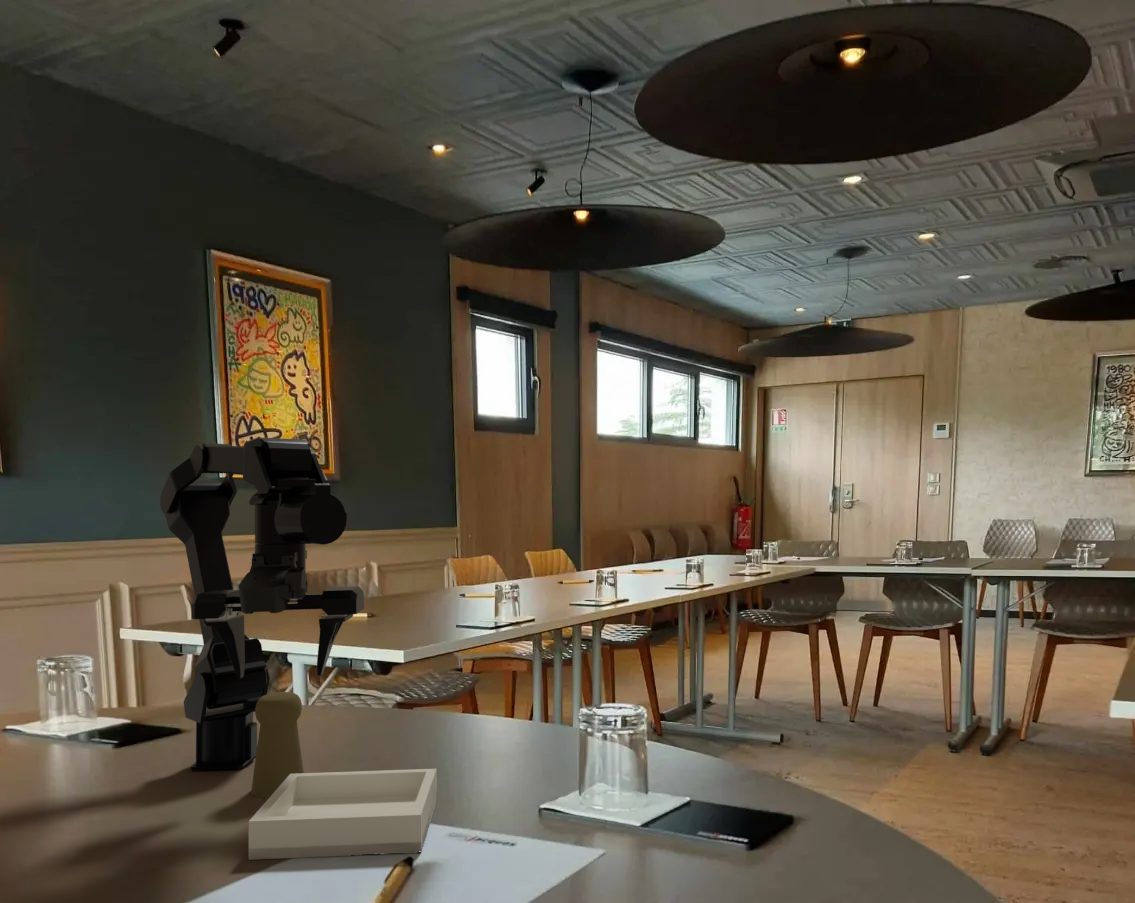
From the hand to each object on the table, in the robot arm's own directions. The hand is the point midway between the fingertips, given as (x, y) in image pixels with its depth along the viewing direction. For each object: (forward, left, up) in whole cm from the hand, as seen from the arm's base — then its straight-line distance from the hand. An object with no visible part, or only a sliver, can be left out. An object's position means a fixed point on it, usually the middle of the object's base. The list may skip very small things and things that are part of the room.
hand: (280, 676), depth 99 cm
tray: (+11, -13, -13) cm, 21 cm away
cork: (0, 0, -13) cm, 13 cm away
